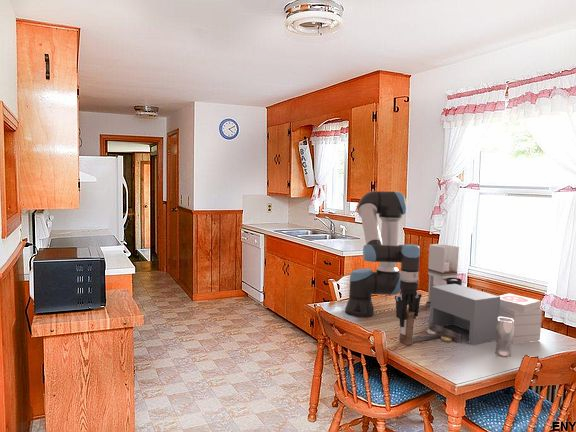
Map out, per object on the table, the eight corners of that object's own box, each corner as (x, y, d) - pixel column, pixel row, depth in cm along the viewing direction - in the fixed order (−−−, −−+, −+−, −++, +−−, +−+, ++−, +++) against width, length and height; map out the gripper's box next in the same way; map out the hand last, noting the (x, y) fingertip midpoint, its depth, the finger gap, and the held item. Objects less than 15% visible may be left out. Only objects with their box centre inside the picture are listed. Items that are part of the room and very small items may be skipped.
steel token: (424, 333, 214) (424, 329, 214) (432, 331, 217) (432, 328, 217) (432, 336, 210) (432, 333, 210) (440, 335, 212) (440, 331, 212)
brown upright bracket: (389, 336, 208) (391, 306, 206) (431, 329, 219) (432, 300, 218) (417, 350, 192) (419, 317, 190) (460, 342, 203) (462, 311, 202)
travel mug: (457, 314, 245) (459, 277, 244) (461, 319, 238) (463, 281, 236) (442, 313, 246) (445, 277, 244) (446, 318, 239) (448, 280, 237)
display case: (426, 304, 263) (429, 244, 260) (440, 303, 267) (443, 243, 264) (440, 310, 252) (444, 247, 249) (454, 308, 257) (458, 246, 254)
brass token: (438, 339, 206) (438, 336, 206) (445, 337, 209) (446, 334, 209) (447, 343, 202) (447, 339, 202) (454, 341, 205) (455, 337, 205)
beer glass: (490, 351, 194) (492, 316, 193) (506, 351, 195) (508, 316, 193) (499, 357, 187) (502, 322, 186) (515, 357, 188) (518, 322, 186)
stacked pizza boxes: (499, 322, 235) (502, 287, 233) (546, 343, 206) (550, 303, 205) (467, 324, 230) (469, 288, 228) (511, 345, 201) (514, 305, 200)
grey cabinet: (429, 326, 224) (431, 286, 222) (452, 322, 231) (455, 283, 229) (472, 344, 201) (475, 300, 199) (497, 339, 208) (500, 296, 206)
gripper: (400, 283, 191) (397, 338, 193) (429, 280, 198) (426, 333, 200) (388, 279, 197) (386, 332, 199) (417, 277, 205) (414, 328, 207)
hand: (406, 333), depth 200 cm, fingers closed on brown upright bracket, 3 cm apart
